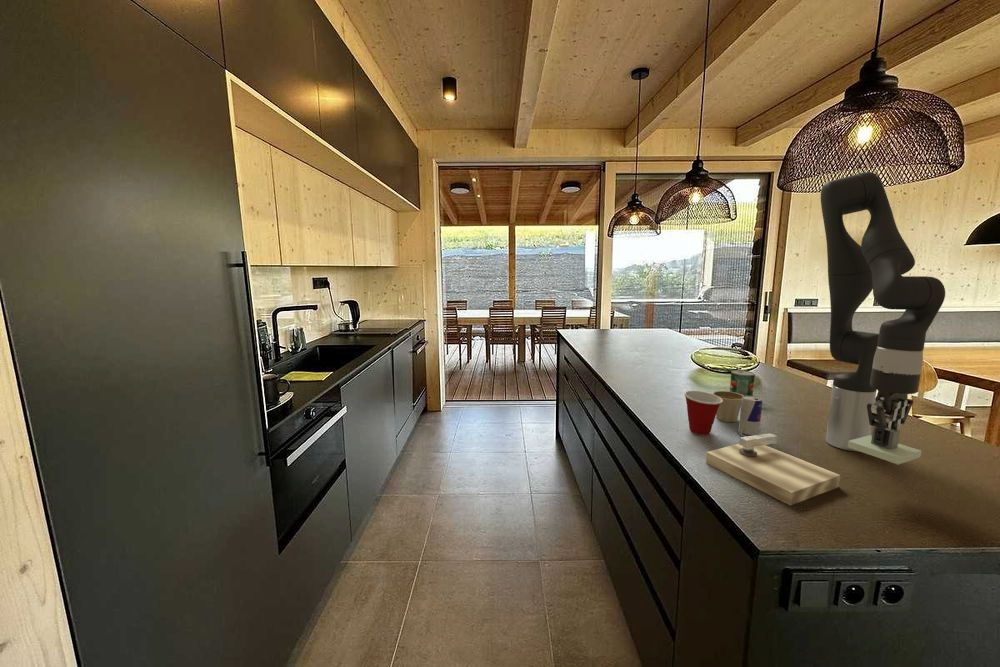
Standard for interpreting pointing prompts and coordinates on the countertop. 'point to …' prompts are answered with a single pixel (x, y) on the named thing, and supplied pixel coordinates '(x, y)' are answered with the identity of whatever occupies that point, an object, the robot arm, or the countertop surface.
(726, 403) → the flower pot
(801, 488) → the latch base
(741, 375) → the canned tomato
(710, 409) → the plastic cup
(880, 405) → the robot arm
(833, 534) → the countertop surface
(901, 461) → the snap lid
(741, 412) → the energy drink
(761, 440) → the grey long bar
